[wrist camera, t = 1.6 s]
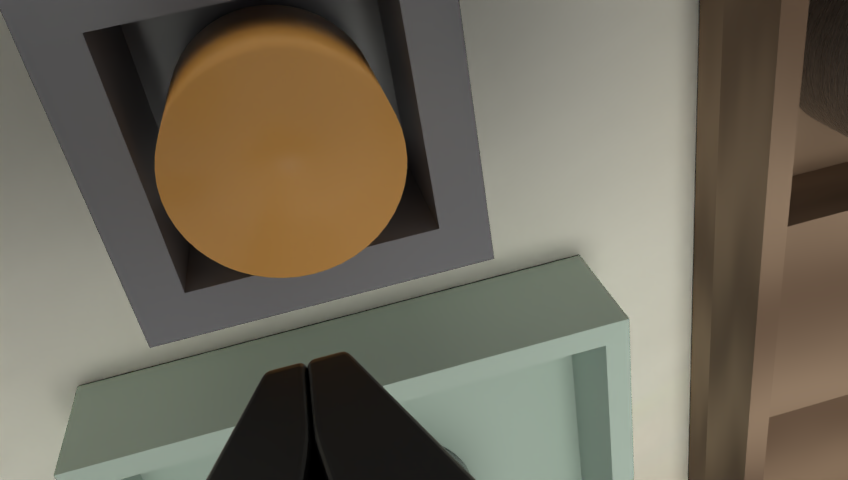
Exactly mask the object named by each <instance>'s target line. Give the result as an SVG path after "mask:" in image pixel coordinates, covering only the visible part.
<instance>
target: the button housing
mask: <svg viewBox="0 0 848 480" xmlns="http://www.w3.org/2000/svg"><path fill="white" fill-rule="evenodd" d="M259 5H283V6H292V7H296V8H299V9H303V10H307V11H309V12H312V13H314V14H317V15H319V16H321V17H323V18H325V19H326V20H328V21H330V22H332V23H333V24H334V25H336V26H337V27H338V28H340V29H341V30H342V31H344V32H345V33H346V34H347V35H348V36H349V37H350V38H351V39H352V40H353V41H354V43H355V44H356V45H357V46H358V48H359V49H360V50H361V52H362V53H363V55H364V57H365V59H366V60H367V62H368V64H369V66H370V67H371V69H372V71H373V73H374V75H375V77H376V79H377V80H378V82H379V84H380V86H381V88H382V90H383V92H384V93H385V95H386V97H387V99H388V101H389V103H390V105H391V106H392V108H393V110H394V112H395V114H396V116H397V118H398V121H399V123H400V126H401V128H402V131H403V135H404V139H405V143H406V151H407V174H406V181H405V187H404V190H403V193H402V196H401V200H400V202H399V204H398V206H397V209H396V211H395V213H394V215H393V216H392V218H391V219H390V221H389V223H388V224H387V226H386V227H385V228H384V229H383V231H382V232H381V233H380V234H379V236H378V237H377V238H376V239H375V240H374V241H373V242H371V243H370V244H369V245H368V246H367V247H366V248H365V249H363V250H362V251H361V252H359V253H358V254H357V255H355V256H354V257H352V258H350V259H349V260H347V261H345V262H344V263H342V264H339V265H337V266H335V267H333V268H330V269H328V270H325V271H321V272H318V273H315V274H310V275H305V276H300V277H289V278H269V277H261V276H254V275H250V274H246V273H242V272H238V271H236V270H233V269H231V268H228V267H225V266H223V265H221V264H219V263H217V262H216V261H214V260H212V259H210V258H209V257H207V256H206V255H204V254H203V253H201V252H200V251H198V250H197V249H196V248H195V247H194V246H193V245H192V244H190V243H189V242H188V241H187V240H186V239H185V238H184V237H183V235H182V234H181V233H180V232H179V231H178V230H177V228H176V227H175V225H174V224H173V222H172V221H171V219H170V218H169V216H168V214H167V212H166V210H165V208H164V206H163V204H162V202H161V198H160V195H159V192H158V188H157V184H156V177H155V150H156V144H157V138H158V134H159V129H160V125H161V121H162V116H163V112H164V108H165V103H166V99H167V95H168V90H169V86H170V82H171V78H172V75H173V72H174V69H175V66H176V64H177V62H178V60H179V58H180V56H181V54H182V53H183V51H184V50H185V48H186V47H187V45H188V44H189V43H190V42H191V41H192V39H193V38H194V37H195V36H196V35H197V34H198V33H199V32H200V31H201V30H203V29H204V28H205V27H206V26H207V25H209V24H210V23H212V22H214V21H215V20H217V19H218V18H220V17H222V16H224V15H226V14H229V13H231V12H233V11H236V10H240V9H243V8H247V7H252V6H259ZM0 10H1V13H2V15H3V17H4V19H5V22H6V24H7V26H8V29H9V31H10V33H11V35H12V38H13V40H14V42H15V44H16V47H17V49H18V51H19V53H20V56H21V58H22V60H23V62H24V65H25V67H26V69H27V71H28V74H29V76H30V78H31V80H32V83H33V85H34V87H35V90H36V92H37V94H38V96H39V99H40V101H41V103H42V105H43V108H44V110H45V112H46V114H47V117H48V119H49V121H50V123H51V126H52V128H53V130H54V132H55V135H56V137H57V139H58V141H59V144H60V146H61V148H62V151H63V153H64V155H65V157H66V160H67V162H68V164H69V166H70V169H71V171H72V173H73V175H74V178H75V180H76V182H77V184H78V187H79V189H80V191H81V193H82V196H83V198H84V200H85V203H86V205H87V207H88V209H89V212H90V214H91V216H92V218H93V221H94V223H95V225H96V227H97V230H98V232H99V234H100V236H101V239H102V241H103V243H104V245H105V248H106V250H107V252H108V254H109V257H110V259H111V261H112V264H113V266H114V268H115V270H116V273H117V275H118V277H119V279H120V282H121V284H122V286H123V288H124V291H125V293H126V295H127V297H128V300H129V302H130V304H131V306H132V309H133V311H134V313H135V315H136V318H137V320H138V322H139V325H140V327H141V329H142V331H143V334H144V336H145V338H146V340H147V343H148V345H149V347H150V348H151V347H155V346H159V345H163V344H167V343H170V342H174V341H178V340H182V339H186V338H190V337H194V336H198V335H201V334H205V333H209V332H213V331H217V330H221V329H225V328H228V327H232V326H236V325H240V324H244V323H248V322H252V321H255V320H259V319H263V318H267V317H271V316H275V315H279V314H282V313H286V312H290V311H294V310H298V309H302V308H306V307H309V306H313V305H317V304H321V303H325V302H329V301H333V300H336V299H340V298H344V297H348V296H352V295H356V294H360V293H363V292H367V291H371V290H375V289H379V288H383V287H387V286H390V285H394V284H398V283H402V282H406V281H410V280H414V279H418V278H421V277H425V276H429V275H433V274H437V273H441V272H445V271H448V270H452V269H456V268H460V267H464V266H468V265H472V264H475V263H479V262H483V261H487V260H491V259H494V254H493V247H492V240H491V232H490V225H489V218H488V210H487V203H486V196H485V188H484V181H483V174H482V166H481V159H480V151H479V144H478V137H477V129H476V122H475V115H474V107H473V100H472V93H471V85H470V78H469V71H468V63H467V56H466V48H465V41H464V34H463V26H462V19H461V12H460V4H459V0H0Z"/></svg>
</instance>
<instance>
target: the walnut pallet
mask: <svg viewBox="0 0 848 480" xmlns="http://www.w3.org/2000/svg"><path fill="white" fill-rule="evenodd" d="M808 9H809V0H700V19H699V61H698V103H697V145H696V188H695V230H694V272H693V314H692V356H691V399H690V441H689V480H848V137H846V136H844V135H842V134H840V133H839V132H837V131H835V130H833V129H831V128H829V127H827V126H825V125H823V124H822V123H820V122H818V121H816V120H814V119H813V118H811V117H810V116H808V115H807V114H805V113H804V112H803V111H802V110H801V108H800V107H799V103H800V92H801V82H802V72H803V61H804V51H805V40H806V30H807V20H808Z"/></svg>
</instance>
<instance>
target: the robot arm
mask: <svg viewBox="0 0 848 480" xmlns="http://www.w3.org/2000/svg"><path fill="white" fill-rule="evenodd" d="M206 480H476V479H475V478H474V477H473V476H472V475H471V474H470V473H469V472H468V471H467V470H466V469H465V468H464V467H463V466H462V465H461V464H460V463H459V462H458V461H457V460H456V459H455V458H454V457H453V456H452V455H451V454H450V453H449V452H448V451H447V450H446V449H445V448H444V447H443V446H442V445H441V444H440V443H439V442H438V441H437V440H436V439H435V438H434V437H433V436H432V435H431V434H430V433H429V432H428V431H427V430H426V429H425V428H424V427H423V426H422V425H421V424H420V423H419V422H418V421H417V420H416V419H415V418H414V417H413V416H412V415H411V414H410V413H409V412H408V411H407V410H406V409H405V408H404V407H403V406H402V405H401V404H400V403H399V402H398V401H397V400H396V399H395V398H394V397H393V396H392V395H391V394H390V393H389V392H388V391H387V390H386V389H385V388H384V387H383V386H382V385H381V384H380V383H379V382H378V381H377V380H376V379H375V378H374V377H373V376H372V375H371V374H370V373H369V372H368V371H367V370H366V369H365V368H364V367H363V366H362V365H361V364H360V363H359V362H358V361H357V360H356V359H355V358H354V357H353V356H352V355H350V354H349V353H348V352H344V351H343V352H338V353H334V354H330V355H327V356H323V357H319V358H316V359H313V360H311V361H310V362H309V364H308V368H307V366H306V365H305V364H303V363H297V364H293V365H289V366H285V367H282V368H278V369H274V370H270V371H268V372H266V373H265V374H264V375H263V377H262V378H261V380H260V382H259V384H258V386H257V387H256V389H255V391H254V393H253V395H252V397H251V398H250V400H249V402H248V404H247V406H246V408H245V409H244V411H243V413H242V415H241V417H240V418H239V420H238V422H237V424H236V426H235V428H234V429H233V431H232V433H231V435H230V437H229V439H228V440H227V442H226V444H225V446H224V448H223V449H222V451H221V453H220V455H219V457H218V459H217V460H216V462H215V464H214V466H213V468H212V470H211V471H210V473H209V475H208V477H207V479H206Z"/></svg>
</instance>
